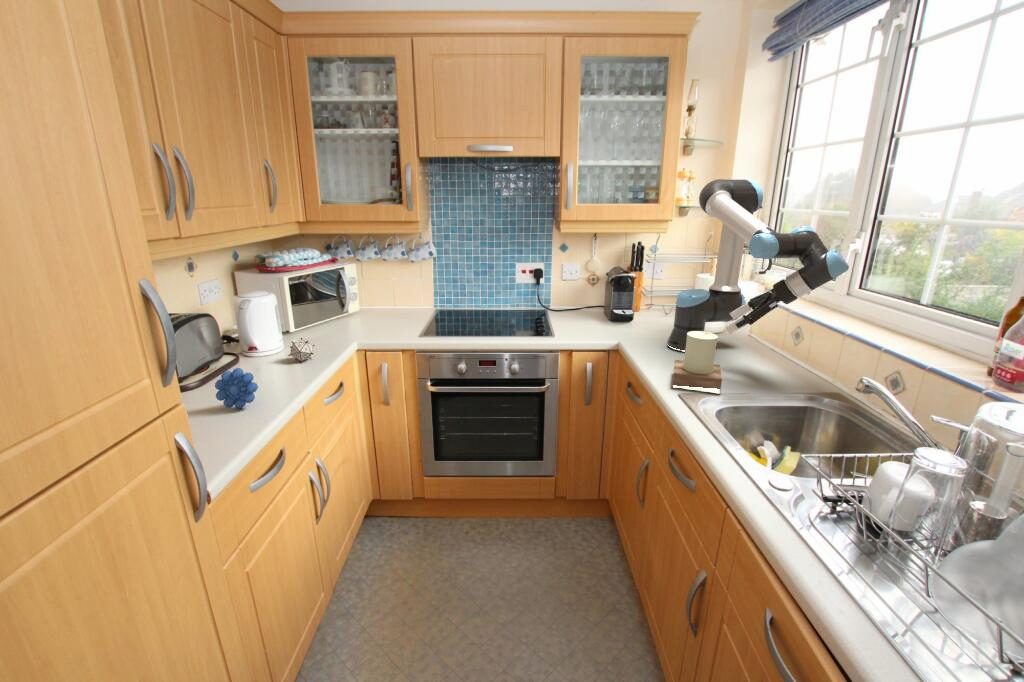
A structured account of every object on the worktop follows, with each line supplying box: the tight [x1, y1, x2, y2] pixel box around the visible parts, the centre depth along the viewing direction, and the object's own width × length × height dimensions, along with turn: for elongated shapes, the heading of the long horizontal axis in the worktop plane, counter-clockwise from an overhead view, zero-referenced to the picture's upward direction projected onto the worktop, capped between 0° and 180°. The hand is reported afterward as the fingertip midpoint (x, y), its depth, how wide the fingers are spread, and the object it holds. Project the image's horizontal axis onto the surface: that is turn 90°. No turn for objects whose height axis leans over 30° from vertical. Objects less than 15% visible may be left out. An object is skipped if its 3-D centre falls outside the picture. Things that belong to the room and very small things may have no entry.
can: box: [683, 331, 719, 374], centre depth 149 cm, size 9×9×12 cm
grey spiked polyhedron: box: [287, 337, 315, 364], centre depth 168 cm, size 9×8×10 cm
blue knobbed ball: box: [214, 367, 259, 410], centre depth 129 cm, size 12×7×12 cm, turn 91°
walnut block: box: [671, 359, 723, 390], centre depth 152 cm, size 14×14×5 cm
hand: (729, 323), depth 159 cm, fingers open, 13 cm apart
